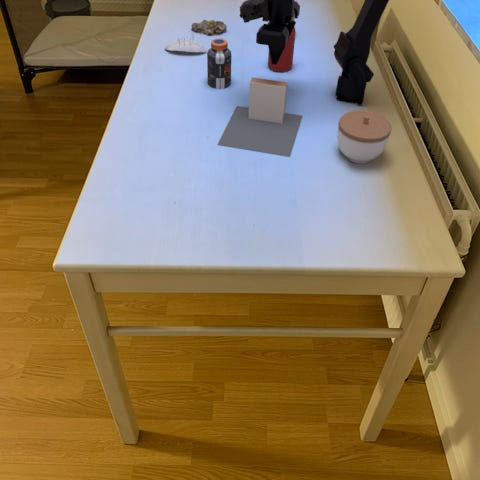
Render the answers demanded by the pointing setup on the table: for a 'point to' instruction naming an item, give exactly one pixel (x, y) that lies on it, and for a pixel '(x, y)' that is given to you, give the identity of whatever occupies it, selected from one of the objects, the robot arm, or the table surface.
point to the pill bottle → (219, 64)
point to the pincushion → (186, 46)
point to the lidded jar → (362, 135)
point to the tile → (267, 100)
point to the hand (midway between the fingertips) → (276, 59)
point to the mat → (260, 133)
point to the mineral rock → (209, 27)
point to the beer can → (284, 56)
